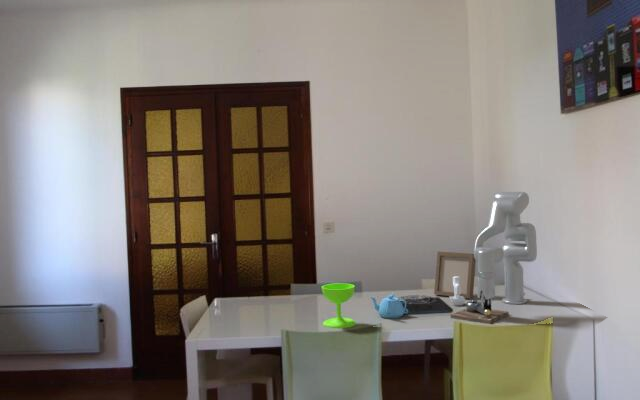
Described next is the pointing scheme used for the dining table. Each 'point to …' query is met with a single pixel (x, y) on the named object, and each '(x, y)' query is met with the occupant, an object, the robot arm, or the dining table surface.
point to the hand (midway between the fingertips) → (487, 312)
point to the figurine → (457, 293)
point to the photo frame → (455, 273)
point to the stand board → (480, 316)
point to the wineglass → (338, 303)
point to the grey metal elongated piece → (477, 307)
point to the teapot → (390, 307)
